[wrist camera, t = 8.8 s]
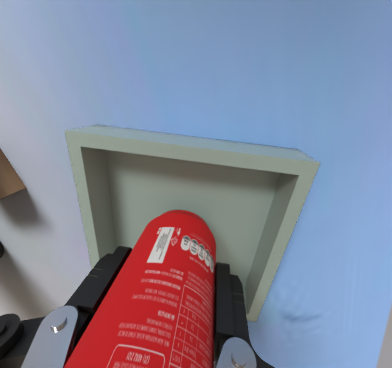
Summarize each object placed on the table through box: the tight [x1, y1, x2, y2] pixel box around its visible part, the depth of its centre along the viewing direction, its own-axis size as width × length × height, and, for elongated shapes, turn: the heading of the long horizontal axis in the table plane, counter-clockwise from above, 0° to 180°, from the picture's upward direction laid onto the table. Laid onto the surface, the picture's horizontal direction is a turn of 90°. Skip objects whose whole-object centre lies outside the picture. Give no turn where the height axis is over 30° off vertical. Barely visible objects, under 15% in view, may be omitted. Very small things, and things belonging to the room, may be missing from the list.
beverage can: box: [64, 209, 216, 368], centre depth 8 cm, size 5×5×12 cm
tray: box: [65, 125, 320, 322], centre depth 14 cm, size 14×14×3 cm
